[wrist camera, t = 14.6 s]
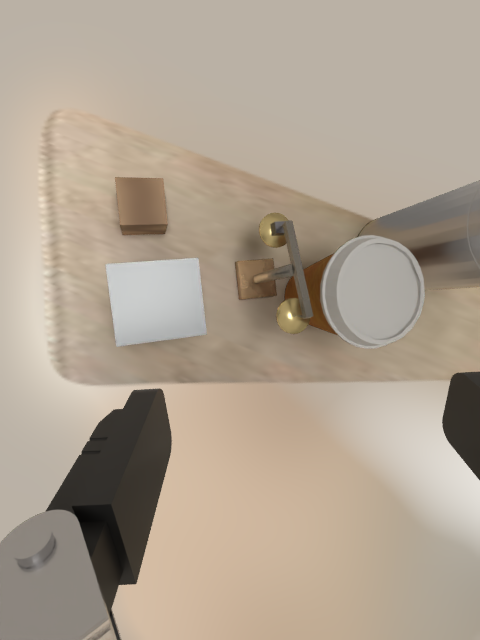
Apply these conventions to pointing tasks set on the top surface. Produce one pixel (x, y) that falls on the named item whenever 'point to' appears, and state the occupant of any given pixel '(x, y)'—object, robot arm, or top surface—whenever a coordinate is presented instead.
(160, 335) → the cover
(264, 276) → the balance
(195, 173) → the top surface
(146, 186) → the block
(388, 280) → the disposable coffee cup
